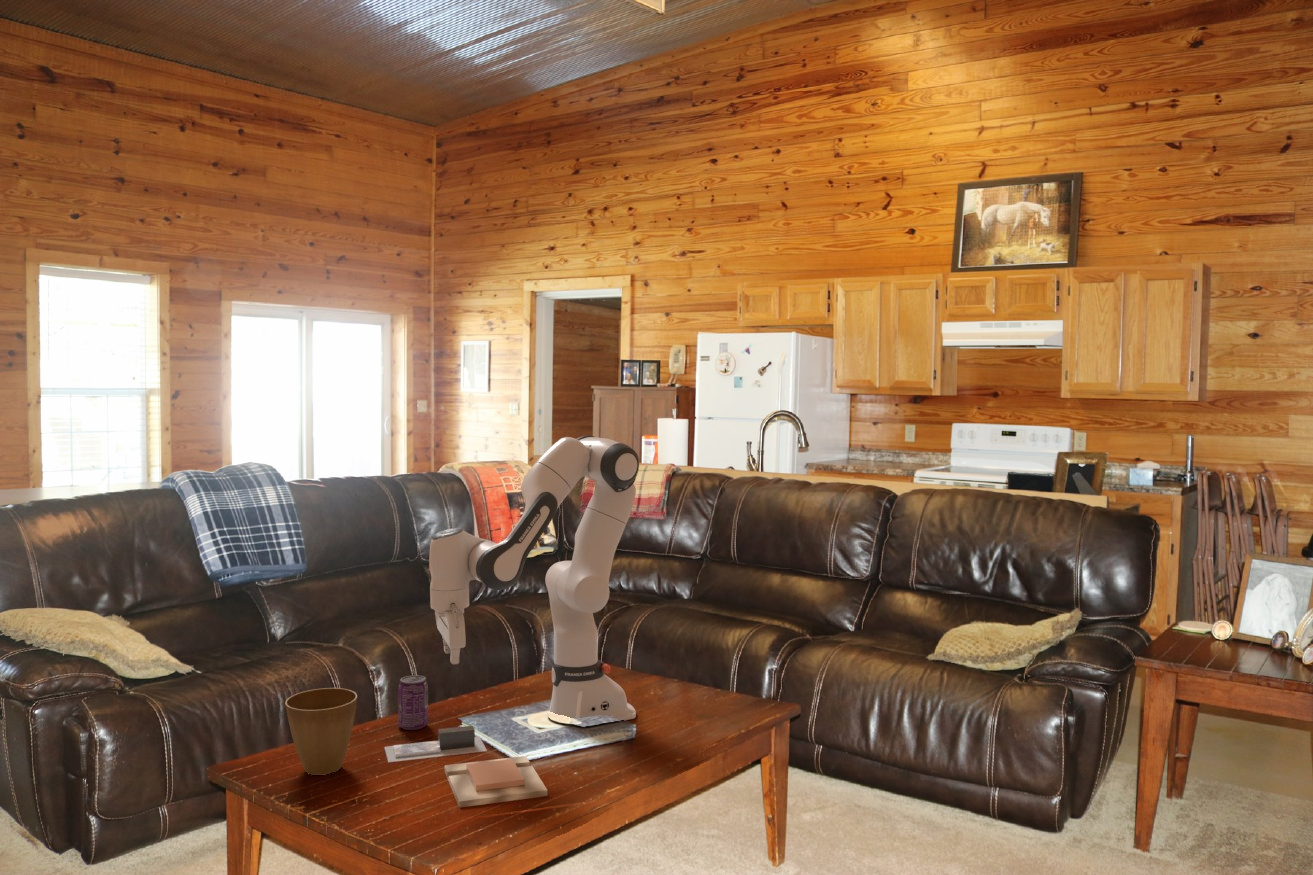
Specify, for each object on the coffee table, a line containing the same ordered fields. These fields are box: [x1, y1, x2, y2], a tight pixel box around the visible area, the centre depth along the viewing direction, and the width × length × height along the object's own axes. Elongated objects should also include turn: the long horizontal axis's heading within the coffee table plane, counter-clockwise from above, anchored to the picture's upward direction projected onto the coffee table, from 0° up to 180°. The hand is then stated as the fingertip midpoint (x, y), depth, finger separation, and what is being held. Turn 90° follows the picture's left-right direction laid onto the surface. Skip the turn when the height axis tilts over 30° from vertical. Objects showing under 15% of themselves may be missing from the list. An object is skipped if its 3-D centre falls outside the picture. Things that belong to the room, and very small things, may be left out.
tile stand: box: [444, 755, 548, 808], centre depth 214 cm, size 18×20×2 cm
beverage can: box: [397, 674, 429, 731], centre depth 249 cm, size 7×7×12 cm
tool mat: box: [384, 736, 488, 765], centre depth 234 cm, size 22×10×1 cm, turn 110°
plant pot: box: [284, 687, 358, 775], centre depth 221 cm, size 15×15×16 cm
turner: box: [392, 725, 476, 758], centre depth 234 cm, size 18×6×4 cm, turn 110°
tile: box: [466, 759, 524, 791], centre depth 214 cm, size 10×1×12 cm
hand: (451, 657), depth 236 cm, fingers open, 8 cm apart
